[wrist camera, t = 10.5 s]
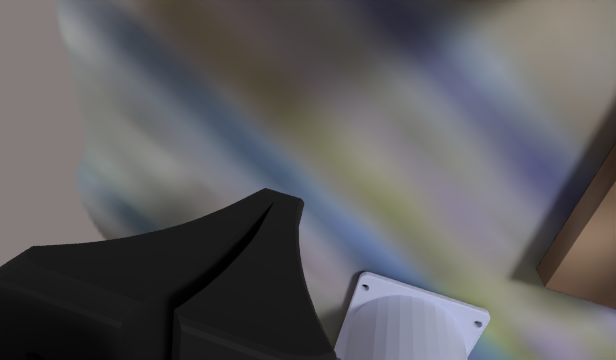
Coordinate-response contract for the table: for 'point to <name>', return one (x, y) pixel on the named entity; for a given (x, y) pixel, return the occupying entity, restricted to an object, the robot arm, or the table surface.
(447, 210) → the table surface
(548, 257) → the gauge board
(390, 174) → the table surface
